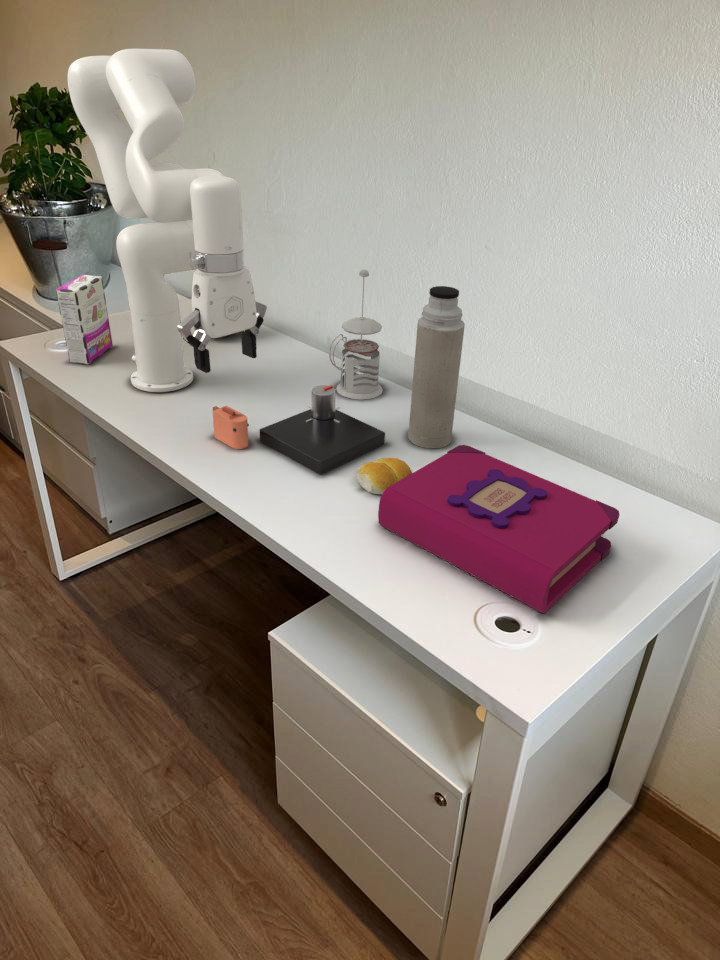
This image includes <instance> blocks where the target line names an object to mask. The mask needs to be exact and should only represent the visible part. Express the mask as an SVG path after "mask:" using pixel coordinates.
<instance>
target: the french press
mask: <svg viewBox="0 0 720 960" xmlns="http://www.w3.org/2000/svg"><path fill="white" fill-rule="evenodd" d="M358 275H359V276H358V277H361V278H362V300H361V301H362V303H361V316H358V317H352V318H350V319H348V320H346V321H345V322H343V323H342V324H341V328H342V329H343V331H344V332H345V333H348V334H352V335H357V336H358V335H359V336H360V338H356V339H355V338H353V339H349V340H348V339H347V337H346V336H344V335H343V334H342V333H341V334H338V335H337V336H335V337H334V338H333V340H332V341H331V344H330V345H329V349H328V357H329V361H330V363H331V365H332V366H334V367H335V368H336V369H337V370H338V371H340V382H339V383H338V384H337V385H336V388H335V390H336V392H337V394H339V395H340V396H342V397H343V398H348V399H352V400H361V401H362V400H371V399H374V398H377V397H379V396H381V395H382V394H383V390H384V389H383V388H382V386H381V385H380V384H379V375H380V355H381V353H380V350H379V347H380V345H379V344H378V343H377V342H375V341H374V340H369V339H363V336H368V335H370V336H371V335H374V334H378V333H380V332H381V331H382V328H383V325H382V324H381V323H380V322H378V321H377V320H376V319H374V318H370V317H365V316H364V297H365V296H364V295H365V278H366V277H367V278H368V277H369V276H370V273H369V270H368V269H361V270H360V271H359V273H358ZM340 336H341V338H340V339H338V341H337V342H336V340H337V338H339V337H340ZM341 341H342V342H343V349H342V351H341V366H338V365H337V364H336V361H335V350H336V349H337V346H338V345H339V343H340V342H341ZM334 342H336V343H335V345H334V347H333V344H334ZM332 347H333V350H332ZM331 350H332V351H331ZM331 352H332V353H331ZM347 353H348V354H347ZM349 353H353V354H349ZM354 354H355V355H354ZM356 354H358V355H361V356H362V357H361V356H357V355H356ZM363 356H364V357H369V358H370V359H369V358H368V359H367V358H363ZM357 366H358V367H357Z"/></svg>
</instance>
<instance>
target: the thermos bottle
mask: <svg viewBox="0 0 720 960" xmlns="http://www.w3.org/2000/svg"><path fill="white" fill-rule="evenodd" d="M429 295H430V296H429V297H428V303H427V304H426V305H424V306H423V308H422V312H421V317H419V318H418V319H417V324H416V325H417V327H416V339H415V349H414V361H413V374H412V385H411V399H410V408H409V409H410V410H409V422H408V434H407V438H408V440H409V442H411V443H412V444H413V445H415V446H417V447H421V448H424V449H440V448H444V447H447V446H449V444H451V442H452V436H453V428H454V419H455V411H456V401H457V395H458V394H457V393H458V385H459V376H460V368H461V367H460V366H461V360H462V350H463V344H464V343H463V342H464V335H465V325H466V324H465V321H463V320H462V317H464V315H463V310H462V308H461V307H460V306H459V298H458V297H459V296H460V290H459V289H457V288H455V287H452V286H446V285H438V286H437V285H436V286H432V287H431V288H429Z"/></svg>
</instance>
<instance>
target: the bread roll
mask: <svg viewBox="0 0 720 960" xmlns="http://www.w3.org/2000/svg"><path fill="white" fill-rule="evenodd" d="M412 473H413V472H412V469H411V467H410V465H408V463H406V462H405V461H404V460H402V459H400V458H398V457H382V458H379V459H377V460H375V461H369V462H365V463H363V464H362V465H361V466H360V467H359V468H358V471H357V474H356V477H357V479H356V480H357V483H358V484H359V485H360V486H361V487H362V489H364V490H365V491H366V492H368V493H370V494H374V495H382V494H383V492H384V491H385V490H386V488H387V487H389V486H391V485H393V484H394V483H396V482H398V481H400V480H401V479H403V478H405V477H407V476H408V475H410V474H412Z"/></svg>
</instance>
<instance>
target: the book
mask: <svg viewBox="0 0 720 960" xmlns="http://www.w3.org/2000/svg"><path fill="white" fill-rule="evenodd" d="M446 452H447V453H445V454H444V455H441V456H440V457H438V458H436V459H434V460H433V461H431V462H429V463H427V464H426V465H424V466H422V467H421V468H419V469H417V470H415V471H414V472H412V474H410V475H408V476H407V477H405V478H403V479H401V480H400V481H398V482H396V483H394V484H393V485H391V486H389V487H387V488H386V490H385V491H384V492H383V494H381V496H380V498H379V504H378V512H377V521H378V524H379V526H381V527H382V528H385V529H386V530H388V531H390V532H392V533H394V534H396V535H397V536H399V537H400V538H403V539H405V540H406V541H408V542H410V543H412V544H414V545H416V546H417V547H420V548H421V549H423V550H425V551H427V552H428V553H430V554H433V555H434V556H436V557H438V558H440V559H442V560H444V561H446V562H447V563H449V564H451V565H453V566H454V567H457V568H458V569H460V570H462V571H463V572H465V573H467V574H470V575H471V576H473V577H475V578H477V579H478V580H480V581H482V582H484V583H486V584H488V585H490V586H491V587H493V588H496V589H497V590H498V591H501V592H503V593H505V594H506V595H509V596H511V598H514V599H516V600H518V601H519V602H521V603H523V604H525V605H527V606H529V607H530V608H532V609H534V610H536V611H538V612H540V613H541V614H546V613H547V612H548V611H549V610H550V609H551V608H552V607H553V606H554V605H555V604H556V603H558V601H559V600H560V599H561V598H563V597H564V596H565V595H566V594H567V593H568V592H569V591H570V590H571V589H572V588H573V587H574V586H575V585H576V584H577V583H578V582H579V581H580V580H582V579H583V578H584V577H585V576H586V575H587V574H588V573H589V572H590V571H591V570H592V569H593V568H594V567H595V566H596V565H597V564H598V563H600V562H602V561H603V560H605V558H607V557H608V556H609V554H610V551H611V548H612V542H611V541H610V540H609V539H608V538H606V537H604V536H603V535H604V534H605V533H607V531H608V530H611V529H612V528H614V527H615V526H616V525H617V524H618V523H619V518H620V511H619V510H618V509H617V508H616V507H613V506H611V505H609V504H607V503H604V502H602V501H599V500H597V499H596V500H595V499H593V498H590V497H587V496H585V495H584V494H583V495H582V494H580V493H578V492H576V491H574V490H572V489H569V488H567V487H564V486H561V485H559V484H557V483H555V482H552V481H550V480H548V479H545V478H543V477H540V476H538V475H536V474H534V473H532V472H530V471H526V470H524V469H522V468H520V467H517V466H514V465H513V464H510V463H507V462H505V461H503V460H501V459H498V458H496V457H494V456H491V455H489V454H487V453H486V452H485V451H482V450H480V449H477V448H475V447H473V446H470V445H467V444H459V445H457V446H455V447H453V448H451V449H450V450H448V451H446Z"/></svg>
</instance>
